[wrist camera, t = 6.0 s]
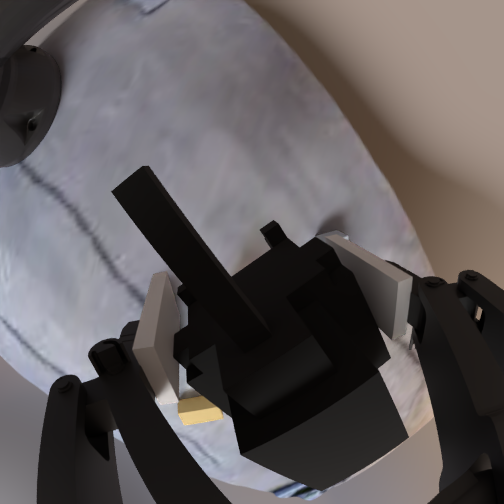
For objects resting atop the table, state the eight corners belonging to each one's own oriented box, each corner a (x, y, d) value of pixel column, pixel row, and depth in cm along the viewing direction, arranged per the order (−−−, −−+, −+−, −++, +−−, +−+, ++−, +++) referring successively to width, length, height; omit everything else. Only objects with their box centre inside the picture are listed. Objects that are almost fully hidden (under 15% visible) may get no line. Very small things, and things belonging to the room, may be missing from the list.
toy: (228, 126, 13) (309, 54, 4) (348, 322, 18) (441, 423, 9) (107, 216, 13) (-11, 311, 4) (257, 383, 18) (302, 509, 9)
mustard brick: (183, 411, 38) (184, 425, 35) (177, 399, 37) (177, 413, 34) (221, 404, 39) (223, 418, 36) (216, 392, 38) (218, 406, 35)
